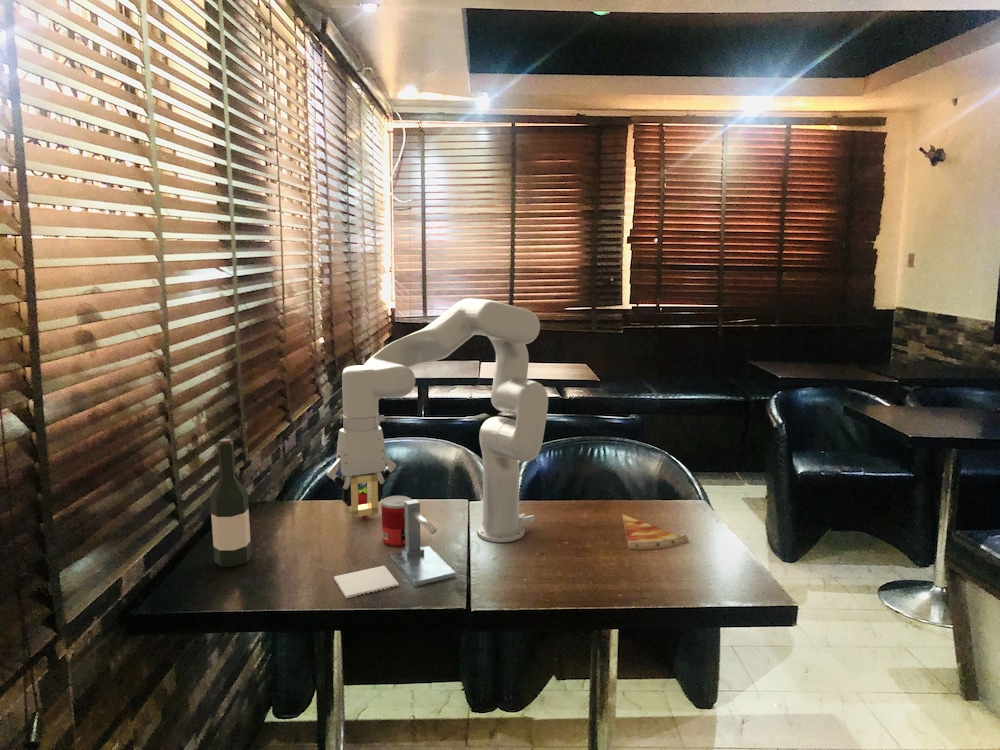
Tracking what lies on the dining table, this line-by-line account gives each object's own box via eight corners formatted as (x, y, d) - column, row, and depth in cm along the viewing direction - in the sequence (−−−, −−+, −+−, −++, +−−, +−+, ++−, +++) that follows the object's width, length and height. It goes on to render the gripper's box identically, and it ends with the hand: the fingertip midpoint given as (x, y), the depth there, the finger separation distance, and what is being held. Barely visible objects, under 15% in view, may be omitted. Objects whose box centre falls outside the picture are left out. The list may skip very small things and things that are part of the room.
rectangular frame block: (374, 508, 154) (373, 470, 152) (378, 513, 151) (377, 474, 150) (347, 513, 151) (346, 474, 149) (351, 517, 148) (350, 478, 147)
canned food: (407, 548, 172) (406, 507, 170) (377, 545, 173) (376, 504, 171) (417, 536, 179) (416, 496, 177) (388, 533, 181) (387, 494, 179)
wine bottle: (206, 564, 163) (197, 442, 157) (231, 549, 170) (223, 433, 165) (235, 569, 160) (226, 446, 154) (258, 555, 168) (251, 437, 162)
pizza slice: (678, 519, 193) (678, 513, 193) (692, 553, 171) (692, 546, 171) (622, 517, 194) (622, 510, 194) (629, 550, 173) (629, 543, 172)
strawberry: (350, 514, 194) (349, 480, 192) (377, 512, 195) (376, 479, 193) (350, 522, 188) (349, 488, 186) (378, 520, 189) (377, 486, 187)
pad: (384, 567, 161) (384, 565, 161) (398, 586, 153) (398, 583, 153) (334, 578, 156) (333, 576, 156) (346, 598, 147) (346, 595, 147)
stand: (428, 550, 171) (428, 495, 168) (455, 577, 157) (455, 518, 154) (390, 558, 166) (389, 502, 164) (414, 586, 152) (413, 526, 150)
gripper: (393, 415, 155) (394, 491, 158) (316, 423, 147) (319, 502, 150) (404, 422, 148) (405, 501, 151) (325, 431, 140) (328, 514, 143)
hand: (362, 501), depth 151 cm, fingers closed on rectangular frame block, 6 cm apart
